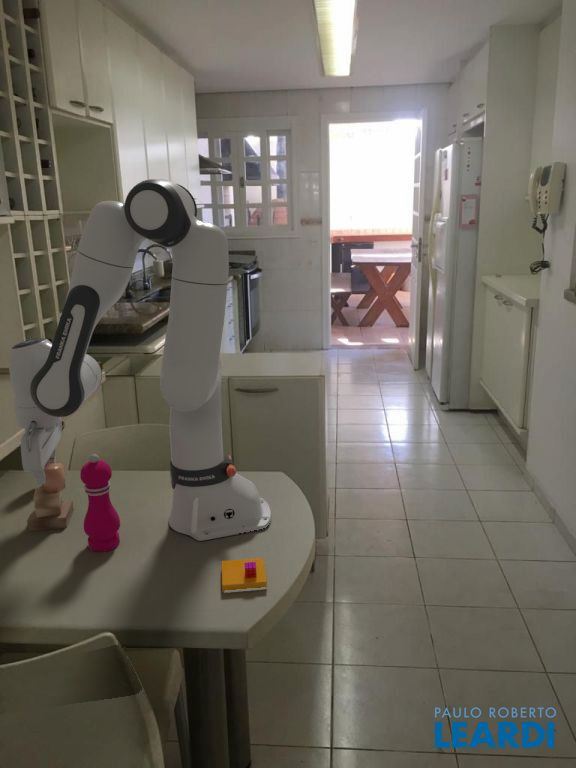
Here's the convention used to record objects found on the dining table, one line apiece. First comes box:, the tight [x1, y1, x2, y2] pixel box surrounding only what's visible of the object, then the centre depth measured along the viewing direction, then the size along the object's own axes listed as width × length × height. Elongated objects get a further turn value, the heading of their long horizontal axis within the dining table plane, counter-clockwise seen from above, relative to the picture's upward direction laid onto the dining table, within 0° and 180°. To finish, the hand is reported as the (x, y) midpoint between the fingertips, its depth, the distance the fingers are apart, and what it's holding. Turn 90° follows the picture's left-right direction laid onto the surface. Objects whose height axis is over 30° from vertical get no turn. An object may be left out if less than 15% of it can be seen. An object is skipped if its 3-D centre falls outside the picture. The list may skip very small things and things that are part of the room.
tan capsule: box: [42, 462, 66, 493], centre depth 138 cm, size 5×5×5 cm
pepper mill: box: [79, 453, 121, 553], centre depth 127 cm, size 7×7×20 cm
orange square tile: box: [221, 557, 268, 592], centre depth 116 cm, size 8×8×4 cm
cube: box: [33, 485, 63, 518], centre depth 138 cm, size 5×5×5 cm
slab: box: [26, 500, 75, 531], centre depth 140 cm, size 8×8×3 cm
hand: (47, 474), depth 138 cm, fingers open, 8 cm apart
